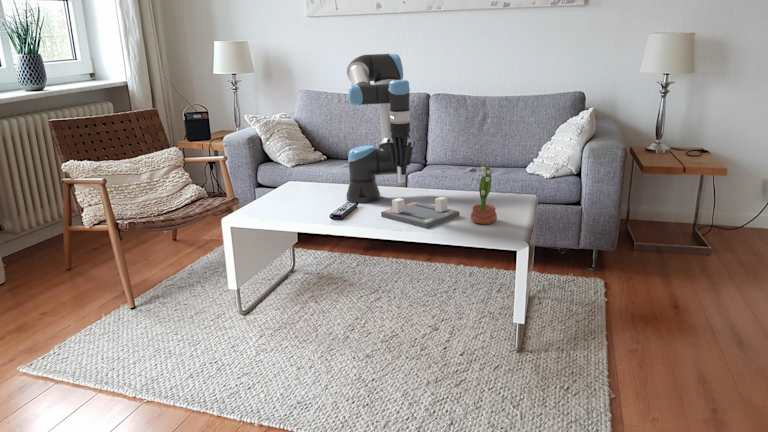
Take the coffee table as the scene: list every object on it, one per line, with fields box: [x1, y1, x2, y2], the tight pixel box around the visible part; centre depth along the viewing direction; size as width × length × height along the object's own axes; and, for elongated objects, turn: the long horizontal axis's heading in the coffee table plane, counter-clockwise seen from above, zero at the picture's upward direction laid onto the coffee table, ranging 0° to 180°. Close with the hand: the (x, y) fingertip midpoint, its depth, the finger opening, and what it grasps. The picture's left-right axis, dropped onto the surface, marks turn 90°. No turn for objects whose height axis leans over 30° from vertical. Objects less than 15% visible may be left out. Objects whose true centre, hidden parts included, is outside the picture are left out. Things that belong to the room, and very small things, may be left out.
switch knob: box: [434, 196, 448, 212], centre depth 231 cm, size 3×4×5 cm
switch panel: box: [380, 200, 460, 229], centre depth 232 cm, size 24×20×2 cm
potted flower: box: [470, 158, 498, 225], centre depth 219 cm, size 12×10×25 cm
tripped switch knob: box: [391, 197, 406, 213], centre depth 231 cm, size 3×4×5 cm
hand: (401, 182), depth 227 cm, fingers closed
